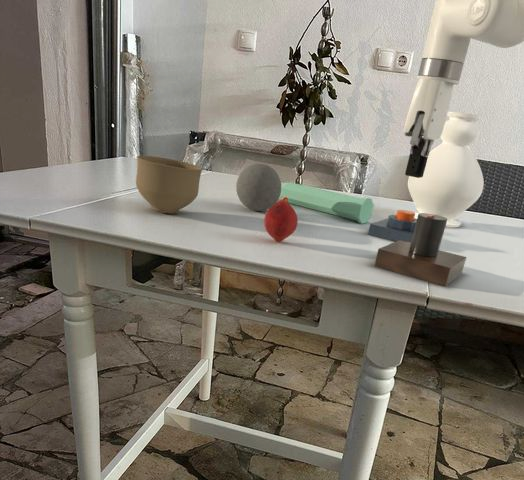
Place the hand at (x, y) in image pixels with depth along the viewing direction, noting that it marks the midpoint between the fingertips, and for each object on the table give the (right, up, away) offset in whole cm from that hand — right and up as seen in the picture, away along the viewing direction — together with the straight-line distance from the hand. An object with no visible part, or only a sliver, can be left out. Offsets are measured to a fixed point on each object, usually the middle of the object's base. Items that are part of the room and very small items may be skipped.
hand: (413, 176), depth 101 cm
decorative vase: (+13, -2, +27) cm, 31 cm away
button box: (-1, -11, +5) cm, 12 cm away
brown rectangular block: (-4, -21, -16) cm, 27 cm away
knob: (-4, -19, -17) cm, 26 cm away
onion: (-28, -16, -10) cm, 33 cm away
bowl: (-50, -7, +1) cm, 50 cm away
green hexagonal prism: (-16, -1, +21) cm, 27 cm away
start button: (-1, -8, +4) cm, 9 cm away
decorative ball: (-32, -4, +13) cm, 34 cm away
